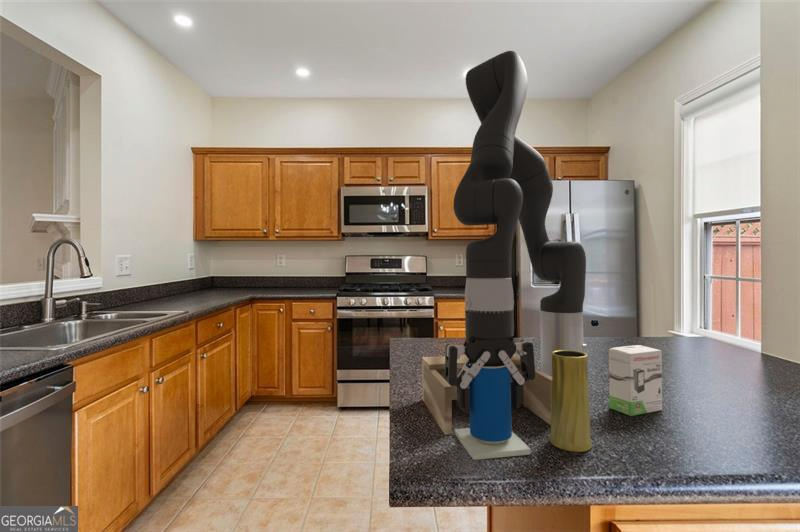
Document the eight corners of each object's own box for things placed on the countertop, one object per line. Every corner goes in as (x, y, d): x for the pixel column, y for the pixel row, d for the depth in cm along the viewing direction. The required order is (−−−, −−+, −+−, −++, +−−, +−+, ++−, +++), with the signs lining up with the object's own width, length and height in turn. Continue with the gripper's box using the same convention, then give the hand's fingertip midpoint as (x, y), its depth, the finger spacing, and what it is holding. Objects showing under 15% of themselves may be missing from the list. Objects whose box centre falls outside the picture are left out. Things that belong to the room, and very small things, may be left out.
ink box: (630, 417, 73) (629, 353, 73) (607, 408, 78) (607, 347, 77) (663, 410, 76) (663, 349, 76) (639, 402, 81) (639, 344, 80)
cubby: (513, 393, 87) (513, 352, 87) (557, 425, 70) (556, 374, 70) (422, 399, 83) (422, 357, 83) (445, 434, 66) (444, 381, 66)
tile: (505, 429, 68) (505, 424, 68) (530, 454, 59) (530, 449, 59) (454, 433, 67) (454, 429, 67) (473, 459, 58) (473, 454, 58)
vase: (543, 436, 65) (542, 349, 65) (578, 434, 66) (577, 348, 66) (561, 453, 59) (560, 358, 59) (600, 451, 60) (599, 357, 60)
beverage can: (513, 448, 59) (511, 368, 59) (469, 445, 61) (467, 367, 61) (510, 430, 66) (508, 358, 66) (470, 428, 67) (469, 357, 67)
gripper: (520, 302, 68) (521, 397, 68) (439, 305, 65) (440, 403, 65) (542, 307, 60) (544, 414, 60) (452, 310, 58) (453, 421, 58)
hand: (490, 408), depth 63 cm, fingers open, 8 cm apart
